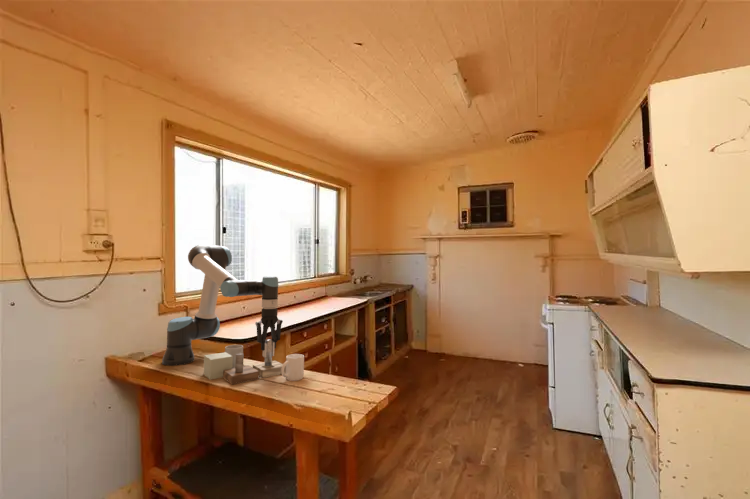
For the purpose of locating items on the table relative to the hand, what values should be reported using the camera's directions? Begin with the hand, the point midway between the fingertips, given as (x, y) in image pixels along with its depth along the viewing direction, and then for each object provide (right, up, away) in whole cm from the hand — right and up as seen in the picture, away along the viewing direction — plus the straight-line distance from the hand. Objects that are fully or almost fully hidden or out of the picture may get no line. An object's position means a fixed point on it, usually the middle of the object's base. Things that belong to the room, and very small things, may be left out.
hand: (268, 356), depth 168 cm
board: (-11, -8, -8) cm, 15 cm away
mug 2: (+13, -9, -8) cm, 18 cm away
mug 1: (-22, -9, +13) cm, 27 cm away
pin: (0, -4, 0) cm, 4 cm away
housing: (-23, -8, -3) cm, 25 cm away
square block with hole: (0, -9, +2) cm, 9 cm away
